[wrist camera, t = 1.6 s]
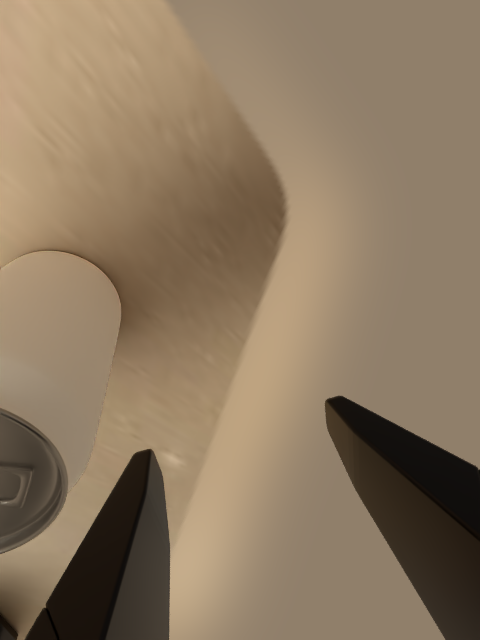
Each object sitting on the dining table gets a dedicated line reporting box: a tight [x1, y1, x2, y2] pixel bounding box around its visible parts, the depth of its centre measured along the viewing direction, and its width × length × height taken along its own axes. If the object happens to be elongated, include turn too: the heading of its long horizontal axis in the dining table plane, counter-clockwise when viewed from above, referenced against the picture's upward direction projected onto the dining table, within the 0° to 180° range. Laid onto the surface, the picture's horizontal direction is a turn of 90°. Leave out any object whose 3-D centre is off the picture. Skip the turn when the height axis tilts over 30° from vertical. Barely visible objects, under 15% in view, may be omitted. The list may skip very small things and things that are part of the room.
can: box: [0, 251, 121, 554], centre depth 14 cm, size 6×6×12 cm
